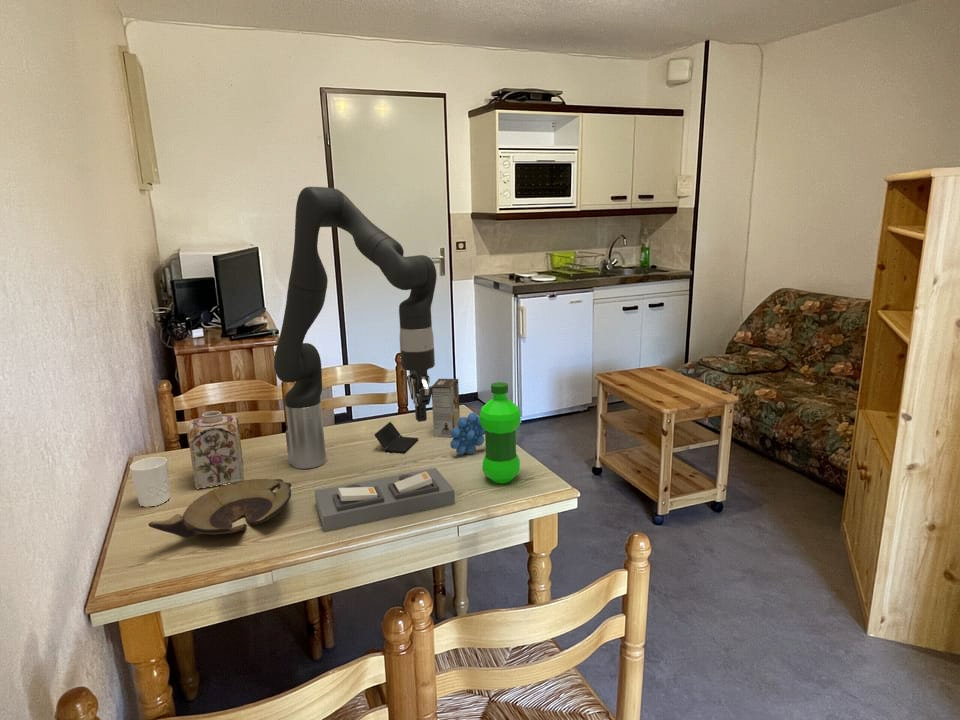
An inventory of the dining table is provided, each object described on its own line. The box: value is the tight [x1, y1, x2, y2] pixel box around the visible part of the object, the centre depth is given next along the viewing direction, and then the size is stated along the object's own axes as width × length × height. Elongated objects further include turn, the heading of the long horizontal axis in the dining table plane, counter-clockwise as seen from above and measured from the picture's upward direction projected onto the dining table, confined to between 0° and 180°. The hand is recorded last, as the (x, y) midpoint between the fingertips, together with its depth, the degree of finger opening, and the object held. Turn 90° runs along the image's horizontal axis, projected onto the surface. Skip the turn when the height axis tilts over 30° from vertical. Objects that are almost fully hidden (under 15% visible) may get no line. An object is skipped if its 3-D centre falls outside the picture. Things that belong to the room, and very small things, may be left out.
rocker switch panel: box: [314, 467, 456, 532], centre depth 142 cm, size 30×14×4 cm, turn 112°
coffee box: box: [431, 378, 461, 438], centre depth 187 cm, size 9×6×16 cm
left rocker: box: [338, 487, 378, 501], centre depth 137 cm, size 8×4×1 cm, turn 112°
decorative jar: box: [187, 410, 245, 489], centre depth 158 cm, size 12×12×18 cm
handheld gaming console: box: [374, 421, 419, 455], centre depth 178 cm, size 12×7×10 cm
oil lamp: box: [148, 478, 292, 538], centre depth 135 cm, size 22×30×8 cm
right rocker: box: [394, 472, 433, 493], centre depth 142 cm, size 8×4×1 cm, turn 112°
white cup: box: [129, 456, 171, 507], centre depth 147 cm, size 8×8×10 cm
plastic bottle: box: [479, 381, 522, 484], centre depth 152 cm, size 10×10×25 cm
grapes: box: [450, 412, 485, 456], centre depth 170 cm, size 12×7×12 cm, turn 117°
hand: (421, 420), depth 139 cm, fingers closed
